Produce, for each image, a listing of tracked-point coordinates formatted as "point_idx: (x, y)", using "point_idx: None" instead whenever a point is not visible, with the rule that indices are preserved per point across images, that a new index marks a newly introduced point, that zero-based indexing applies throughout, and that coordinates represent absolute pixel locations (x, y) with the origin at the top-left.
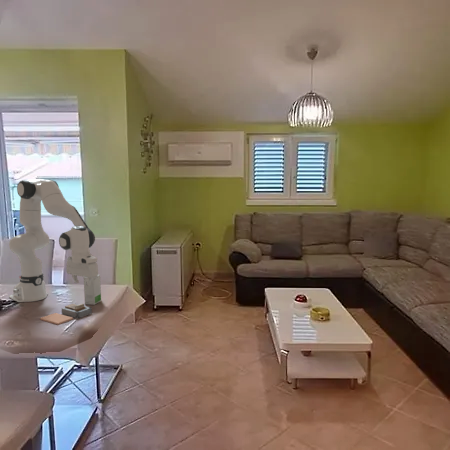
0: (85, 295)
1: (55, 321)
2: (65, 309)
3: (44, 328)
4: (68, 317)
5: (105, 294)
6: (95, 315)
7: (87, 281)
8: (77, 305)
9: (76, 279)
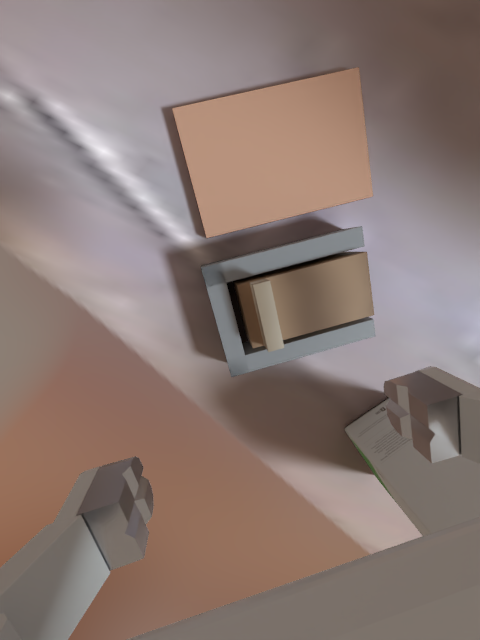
0: None
1: (218, 114)
2: (324, 237)
3: (166, 3)
4: (232, 217)
5: None
6: (180, 363)
7: (44, 544)
8: (268, 301)
9: (464, 432)
